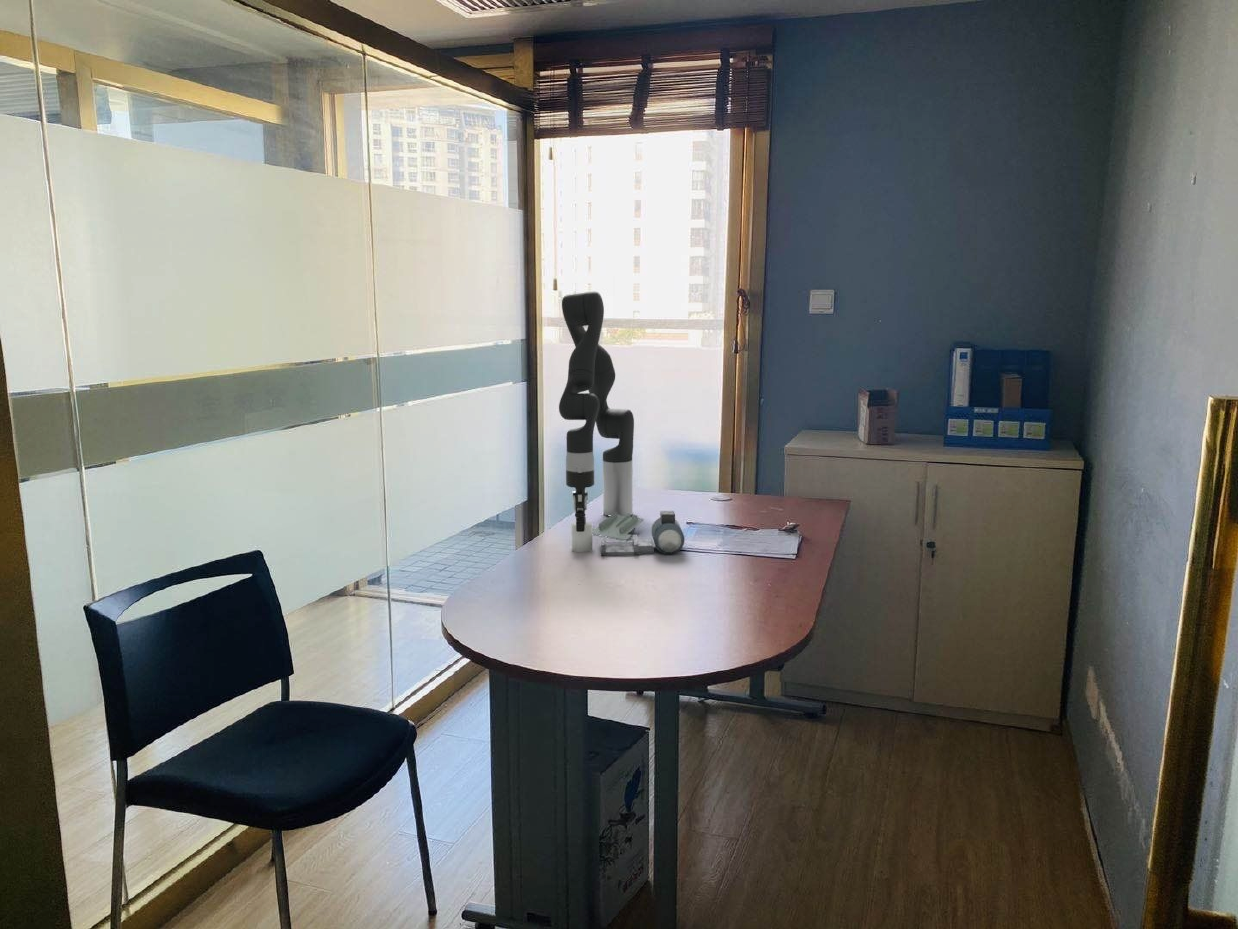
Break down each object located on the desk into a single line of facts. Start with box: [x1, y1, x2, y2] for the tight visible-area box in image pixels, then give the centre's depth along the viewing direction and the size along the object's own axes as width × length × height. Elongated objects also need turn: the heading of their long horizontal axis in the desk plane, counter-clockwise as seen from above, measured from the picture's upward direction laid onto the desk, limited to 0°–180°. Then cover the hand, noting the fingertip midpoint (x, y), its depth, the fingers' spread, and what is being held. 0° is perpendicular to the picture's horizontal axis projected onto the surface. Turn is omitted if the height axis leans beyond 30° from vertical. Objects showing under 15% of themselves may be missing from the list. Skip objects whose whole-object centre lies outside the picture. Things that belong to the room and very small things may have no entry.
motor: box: [600, 510, 686, 557], centre depth 238 cm, size 11×22×10 cm, turn 92°
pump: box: [570, 516, 594, 553], centre depth 240 cm, size 6×6×9 cm
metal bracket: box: [592, 512, 645, 541], centre depth 258 cm, size 14×6×15 cm
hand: (580, 527), depth 239 cm, fingers open, 8 cm apart
